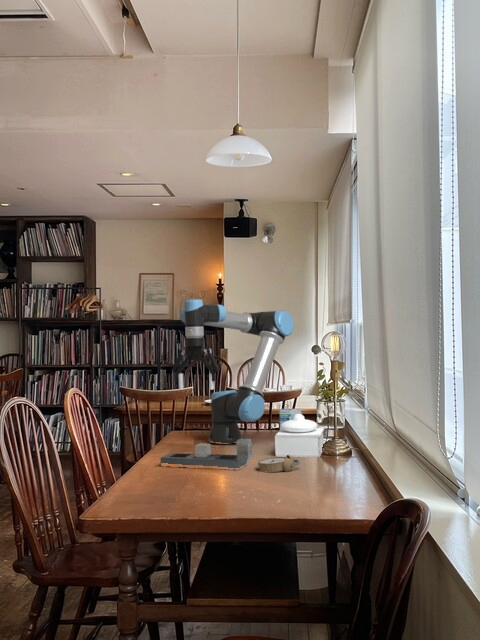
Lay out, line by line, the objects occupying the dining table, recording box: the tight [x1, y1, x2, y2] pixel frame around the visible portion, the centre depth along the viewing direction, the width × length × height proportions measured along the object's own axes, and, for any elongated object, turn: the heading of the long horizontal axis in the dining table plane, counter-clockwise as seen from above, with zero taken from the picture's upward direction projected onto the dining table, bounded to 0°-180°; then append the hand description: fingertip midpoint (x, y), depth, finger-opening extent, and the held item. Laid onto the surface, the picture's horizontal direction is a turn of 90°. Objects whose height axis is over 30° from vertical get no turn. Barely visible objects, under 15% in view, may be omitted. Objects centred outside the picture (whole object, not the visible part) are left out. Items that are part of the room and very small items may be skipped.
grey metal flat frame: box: [160, 452, 248, 468], centre depth 233 cm, size 10×31×4 cm, turn 70°
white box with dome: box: [274, 414, 325, 458], centre depth 252 cm, size 18×18×16 cm
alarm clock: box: [255, 455, 300, 473], centre depth 223 cm, size 11×5×15 cm
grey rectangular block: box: [194, 442, 212, 459], centre depth 232 cm, size 4×4×8 cm
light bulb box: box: [279, 408, 303, 431], centre depth 304 cm, size 11×7×11 cm, turn 80°
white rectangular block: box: [236, 438, 253, 460], centre depth 240 cm, size 4×4×8 cm
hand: (196, 389), depth 253 cm, fingers open, 13 cm apart
